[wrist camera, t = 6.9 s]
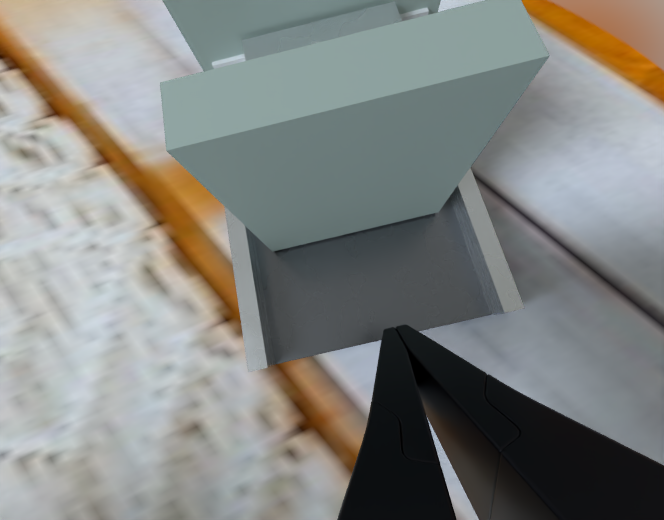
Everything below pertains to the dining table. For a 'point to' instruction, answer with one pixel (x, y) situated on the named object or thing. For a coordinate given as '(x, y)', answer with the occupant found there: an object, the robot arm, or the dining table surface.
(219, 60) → the fixed jaw
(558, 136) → the dining table surface
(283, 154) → the bar
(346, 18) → the steel block
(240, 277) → the vise base
